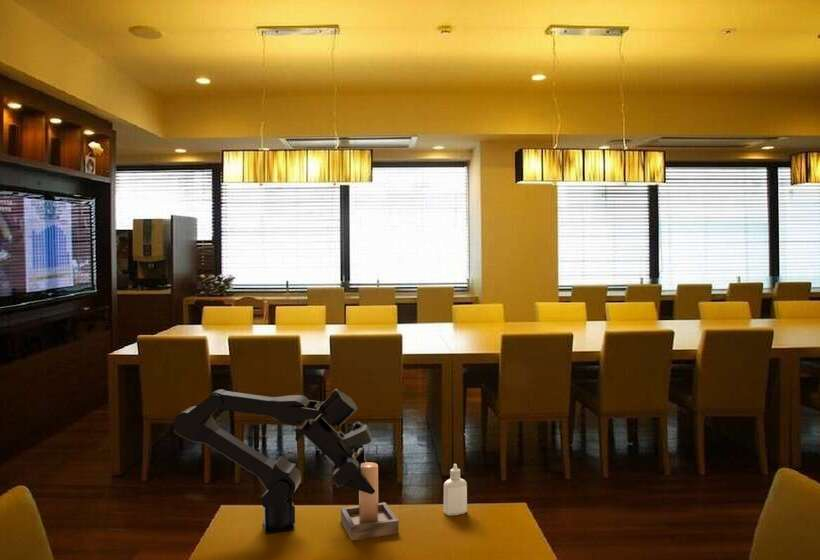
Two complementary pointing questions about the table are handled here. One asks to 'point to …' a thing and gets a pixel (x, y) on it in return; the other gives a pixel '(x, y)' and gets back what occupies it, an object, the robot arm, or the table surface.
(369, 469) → the peach tall rounded piece
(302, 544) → the table surface
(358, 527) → the square wooden tray
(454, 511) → the eye dropper bottle
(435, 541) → the table surface
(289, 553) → the table surface
